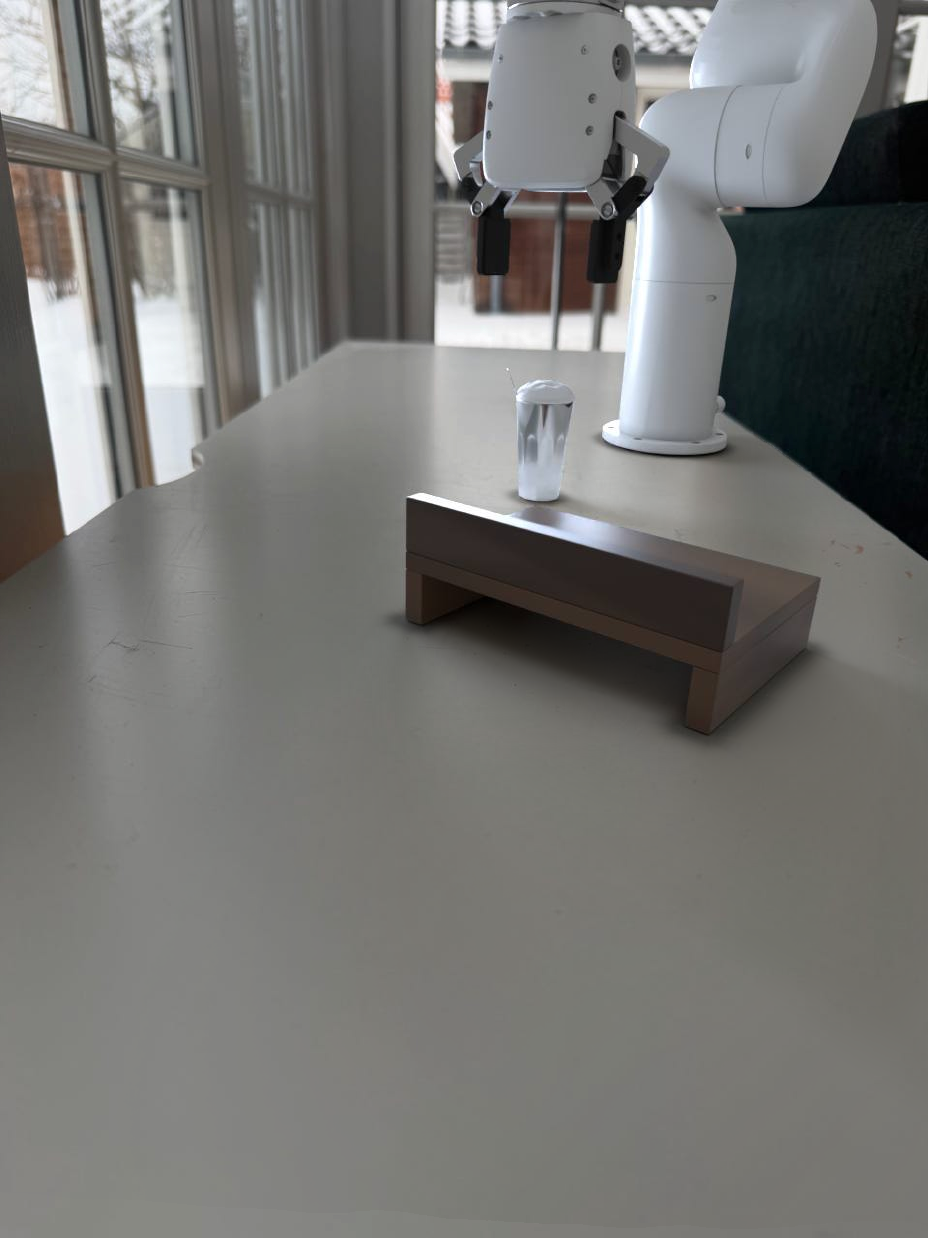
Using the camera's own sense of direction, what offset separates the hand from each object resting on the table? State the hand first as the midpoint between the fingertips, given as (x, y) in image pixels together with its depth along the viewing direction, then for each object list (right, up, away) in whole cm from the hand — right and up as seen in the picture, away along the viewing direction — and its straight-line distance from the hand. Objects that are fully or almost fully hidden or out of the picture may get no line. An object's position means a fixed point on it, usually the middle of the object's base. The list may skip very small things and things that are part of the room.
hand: (544, 278), depth 65 cm
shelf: (+2, -26, -17) cm, 31 cm away
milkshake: (0, -15, +7) cm, 17 cm away
